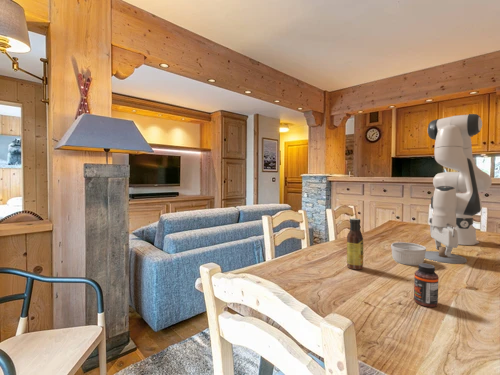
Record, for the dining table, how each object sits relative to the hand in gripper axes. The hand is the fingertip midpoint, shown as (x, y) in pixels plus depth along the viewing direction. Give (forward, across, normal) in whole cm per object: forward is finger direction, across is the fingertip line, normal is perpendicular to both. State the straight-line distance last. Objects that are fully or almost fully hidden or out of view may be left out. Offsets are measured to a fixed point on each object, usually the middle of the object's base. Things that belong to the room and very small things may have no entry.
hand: (443, 252), depth 124 cm
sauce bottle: (+2, -24, +40) cm, 47 cm away
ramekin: (+3, -10, +17) cm, 20 cm away
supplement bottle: (+2, -51, +23) cm, 56 cm away
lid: (+3, 0, 0) cm, 3 cm away
